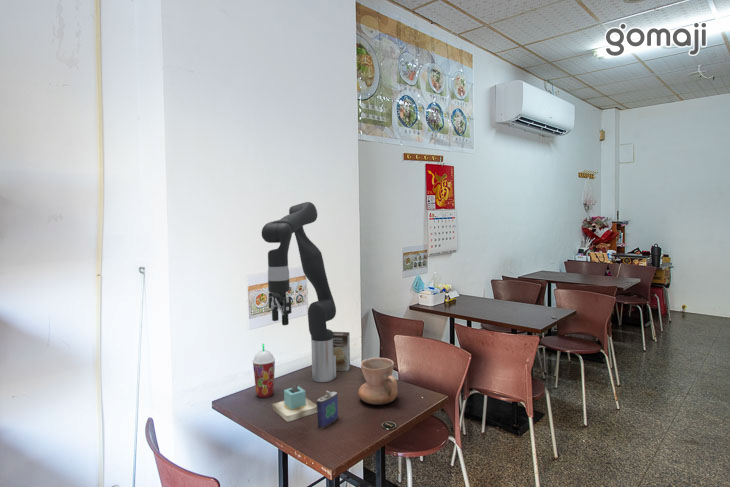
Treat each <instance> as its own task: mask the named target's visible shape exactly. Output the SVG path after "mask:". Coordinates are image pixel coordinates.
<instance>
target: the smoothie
mask: <svg viewBox="0 0 730 487" xmlns="http://www.w3.org/2000/svg"><path fill="white" fill-rule="evenodd" d="M261 346H262V350H260V351H258V352H257V353H256V354H255V356H254V358H253V360H252V365H253V366H252V368H253V376H254V384H255V385H254V386H255V393H256V395H257V396H258V398H268V397H271V396H273V394H274V391H275V363H276V362H275V360H276V358H275V357H274V355H273V353H271V352H270V351H268V350H265V343H262V345H261Z"/></svg>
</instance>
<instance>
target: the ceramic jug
mask: <svg viewBox="0 0 730 487" xmlns="http://www.w3.org/2000/svg"><path fill="white" fill-rule="evenodd" d="M394 364H395V362H394V361H393V360H392V359H390V358H386V357H369V358H368V359H367V358H366V359H363V360H362V361H361V362H360V369H361V371H362V374H363V378H364V379H365V381H366V382H364V383H363V384H362V385H361V386H360V387H359V389H358V393H357V394H358V397H359V399H361V401H363V402H364V403H366V404H370V405H375V406H376V405H377V406H378V405H379V406H380V405H385V404H387V405H388V404H390V403H392V402H393V401H395V399H396V398H397V397H398V393H399V392H398V381H397V379H396V377H394V375H392V374H393V371H394Z"/></svg>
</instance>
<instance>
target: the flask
mask: <svg viewBox="0 0 730 487" xmlns="http://www.w3.org/2000/svg"><path fill="white" fill-rule="evenodd" d="M338 402H339V401H338V392H336V391H329V390H325V394H324V396H322V397H321V396H320V397H319V398H317V400H316V405H317V413H316V414H317V429H320V430H321V429H324V428H328V427H329V426H331V425H332V424H333V423H335V422H336V421H337V420H338V419H339V408H338V405H339V404H338Z"/></svg>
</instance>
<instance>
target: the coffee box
mask: <svg viewBox="0 0 730 487" xmlns="http://www.w3.org/2000/svg"><path fill="white" fill-rule="evenodd" d="M332 332H333V347H334V355H335V356H336V372H349V370H350V367H351V350H350V348H351V345H350V342H351V341H350V336H351V335H350V332H349V331H347V332H345V331H332Z"/></svg>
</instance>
